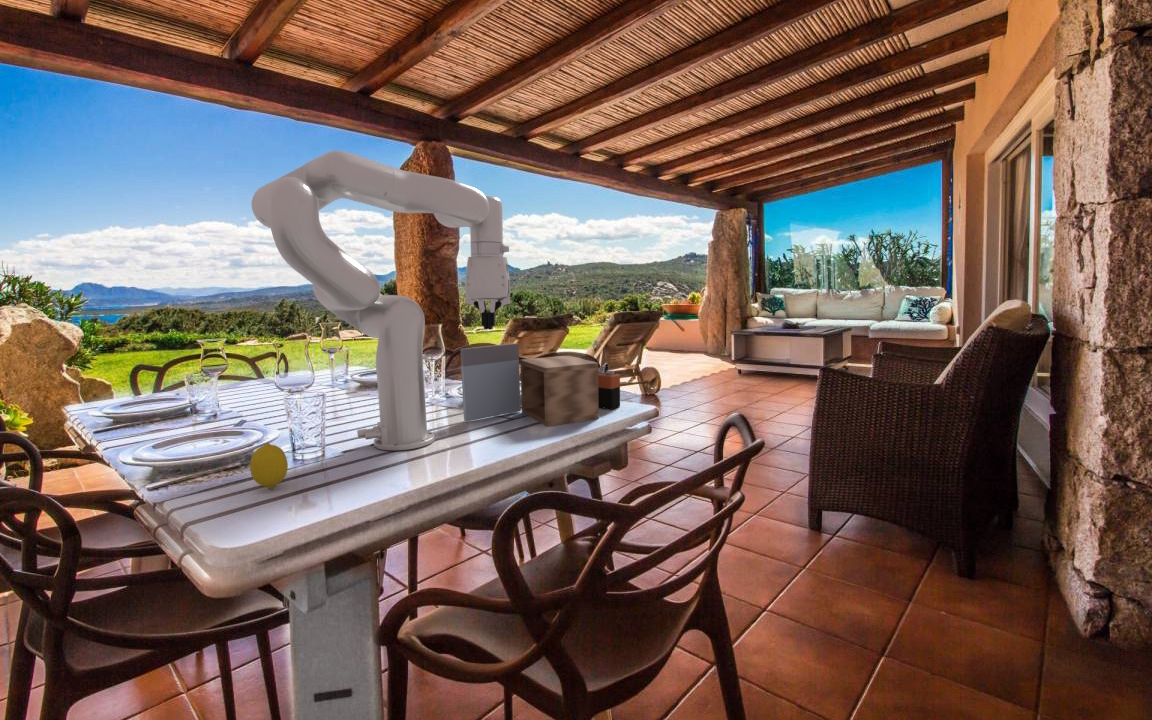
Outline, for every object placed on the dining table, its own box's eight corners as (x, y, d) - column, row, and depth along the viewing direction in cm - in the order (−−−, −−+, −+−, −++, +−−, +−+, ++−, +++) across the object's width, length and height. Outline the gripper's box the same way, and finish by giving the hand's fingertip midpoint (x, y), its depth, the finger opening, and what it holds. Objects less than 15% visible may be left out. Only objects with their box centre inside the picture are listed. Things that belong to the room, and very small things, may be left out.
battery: (611, 410, 145) (611, 372, 143) (591, 406, 149) (590, 370, 148) (620, 407, 148) (620, 370, 147) (600, 403, 152) (600, 368, 151)
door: (463, 420, 135) (460, 348, 133) (518, 410, 145) (515, 343, 142) (466, 421, 134) (462, 349, 132) (520, 410, 144) (518, 343, 141)
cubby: (547, 426, 130) (545, 368, 128) (521, 412, 144) (520, 359, 142) (598, 418, 136) (597, 362, 134) (569, 406, 150) (568, 355, 148)
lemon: (250, 497, 90) (245, 450, 89) (255, 485, 95) (250, 441, 94) (288, 491, 92) (283, 445, 91) (291, 480, 97) (286, 436, 96)
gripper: (520, 252, 133) (521, 328, 135) (459, 252, 133) (461, 327, 136) (516, 250, 125) (517, 330, 128) (451, 250, 126) (453, 330, 128)
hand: (488, 328), depth 132 cm, fingers closed
